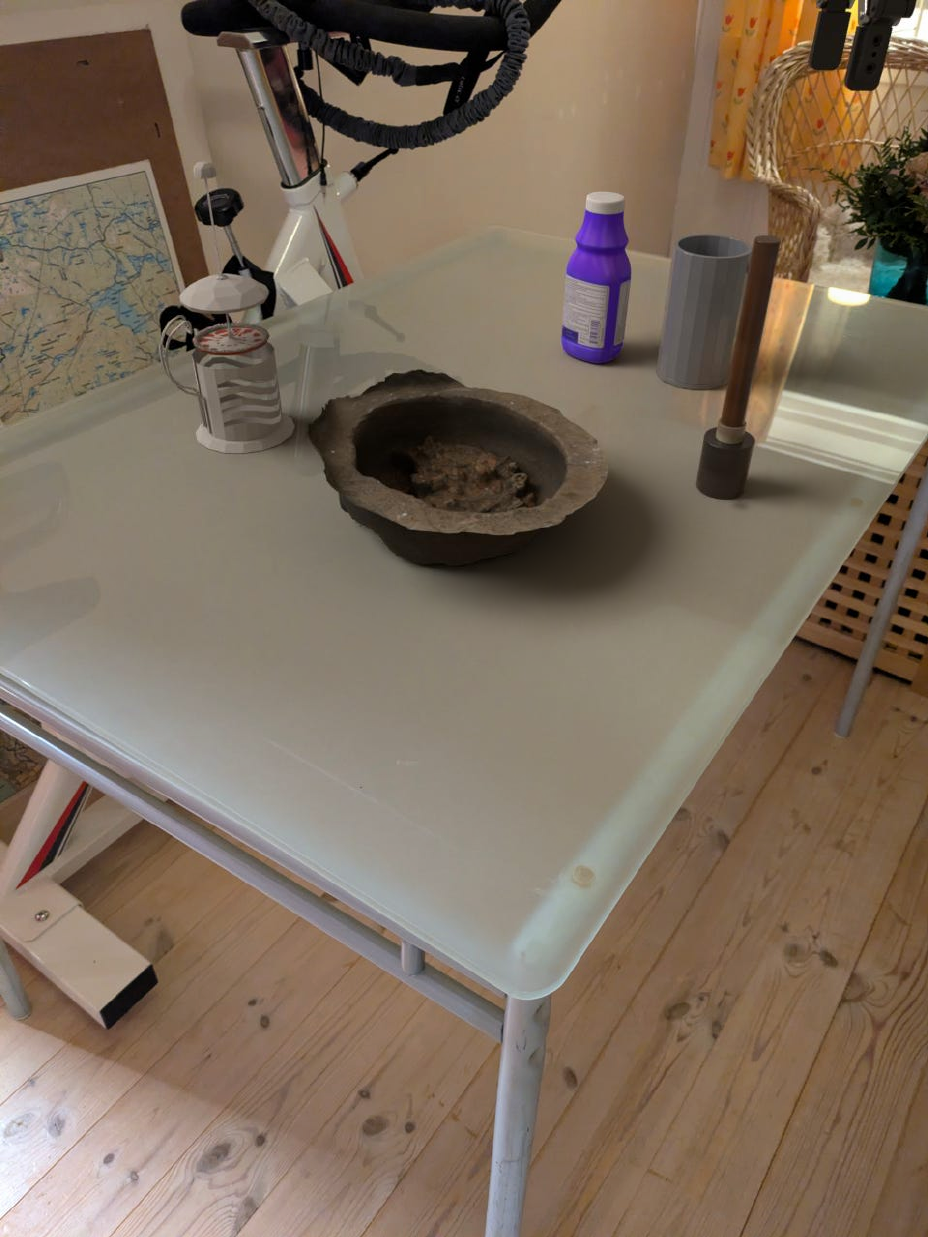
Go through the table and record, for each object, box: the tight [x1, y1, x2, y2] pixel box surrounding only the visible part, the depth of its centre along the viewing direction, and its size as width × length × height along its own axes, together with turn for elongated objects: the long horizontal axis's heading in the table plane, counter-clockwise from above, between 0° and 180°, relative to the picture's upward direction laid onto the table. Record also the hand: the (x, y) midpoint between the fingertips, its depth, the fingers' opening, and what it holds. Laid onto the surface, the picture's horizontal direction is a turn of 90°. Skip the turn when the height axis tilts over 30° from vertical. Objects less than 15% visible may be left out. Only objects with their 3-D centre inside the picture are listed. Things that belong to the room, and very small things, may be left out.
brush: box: [695, 234, 782, 500], centre depth 80 cm, size 4×4×22 cm
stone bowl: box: [306, 368, 609, 567], centre depth 80 cm, size 25×25×9 cm
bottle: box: [560, 191, 632, 364], centre depth 105 cm, size 7×6×17 cm
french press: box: [158, 160, 296, 454], centre depth 88 cm, size 10×12×25 cm
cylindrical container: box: [656, 233, 753, 390], centre depth 102 cm, size 8×8×14 cm
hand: (840, 78), depth 69 cm, fingers open, 8 cm apart
